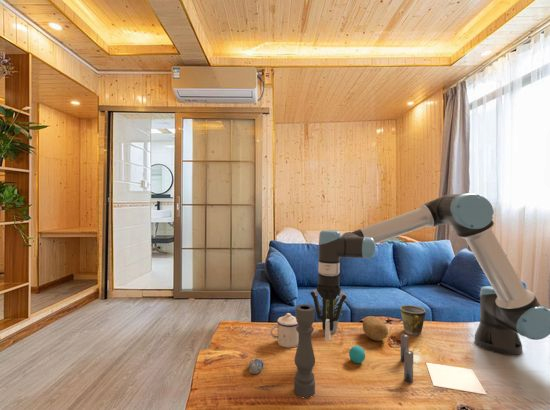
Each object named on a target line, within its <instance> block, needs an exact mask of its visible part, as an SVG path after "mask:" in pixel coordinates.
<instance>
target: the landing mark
mask: <svg viewBox="0 0 550 410" xmlns="http://www.w3.org/2000/svg"><path fill="white" fill-rule="evenodd" d="M425 365H426V367H427V370H428V374H429V376H430V379H431V383H432V385H433V387H437V388H438V387H439V388H443V389H447V390H448V389H449V390H455V391H461V392H467V393H472V394H478V395H484V396H488V395H487V392H486V390H485V389H484V387H483V385H482V384H481V382H480V381H479V379H478V377H477V376H476V374H475V372H474V371H473V369H471V368H466V367H458V366H453V365H452V366H451V365H444V364H439V363H431V362H425Z"/></svg>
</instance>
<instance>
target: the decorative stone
mask: <svg viewBox="0 0 550 410" xmlns="http://www.w3.org/2000/svg"><path fill="white" fill-rule="evenodd" d="M248 369H249V370H248V371H249V373H250V374H252V375H253V374H254V375H256V374H260V373H261V372H262V371H263V369H264V362H263V360H262V359H261V358H252V359H251V360H250V361H249V364H248Z"/></svg>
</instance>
